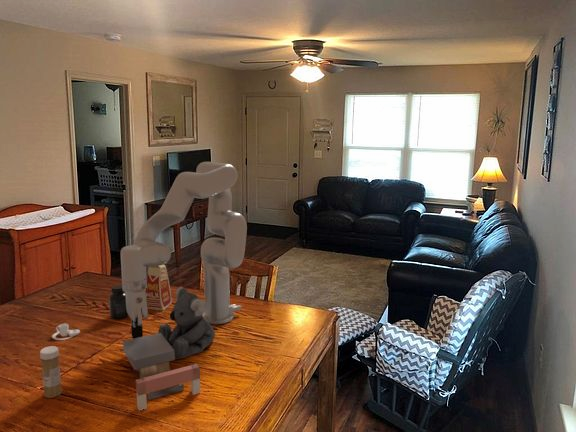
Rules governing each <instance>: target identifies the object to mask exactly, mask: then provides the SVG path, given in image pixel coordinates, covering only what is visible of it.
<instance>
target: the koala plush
mask: <svg viewBox="0 0 576 432" xmlns="http://www.w3.org/2000/svg"><path fill="white" fill-rule="evenodd" d="M176 289H177V290H176V292H175V296H176V301H175V303H174V306H173V308H172V310H171V312H170V314H169V319H170V320H171V321H174V322H175V323H176V325H175V326H174V327H173V330H172V328H171V326H170V324H169V323H164V324H160V325H159V328H158V333H161V334H162V335H163V336H164V338H165V339H166V340H167V342H168V343H169V344H170V345H171V347H172V348H173V349H174V351H175V360H176V359H177V360H182V359H186V358H188V357H190V356H193V355H195V354H199V353H202V352H203V351H204V350H205V349H206V348H208V347H209V346H210V344H212V343H213V341H214V339H215V337H216V333H215V330H214V328H213V327H212V324H209V323H208V322H206V321H205V319H204V318H203V316H202V315H203V313H205V310H206V309H205V300H203V299H201V298H200V297H199V296H198V295H197V294H195V293H194V292H188V290H187V289H186V288H184V287H183V286H179V288H176Z"/></svg>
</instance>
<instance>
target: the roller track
mask: <svg viewBox="0 0 576 432" xmlns="http://www.w3.org/2000/svg"><path fill="white" fill-rule="evenodd" d="M169 362H170V361H168V362H164V363H160V364H156V365H152V366H148V367H144V368H140V369H137V370H135V371H136V372H138V373H139V377H140V378H139V379H141V378H145V377H149V376H152V375H156V374H160V373H164V372H167V371H171V367H170V363H169ZM184 385H185V384H184V383H182V384H180V385H177V386H174V387H170V388H166V389H163V390H159V391H156V392H152V393H147V400H148V401H150V400H154V399H158V398H161V397H164V396H168V395H171V394H175V393H177V392H182V391H184V390H185V386H184Z"/></svg>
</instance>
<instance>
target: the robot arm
mask: <svg viewBox="0 0 576 432" xmlns="http://www.w3.org/2000/svg"><path fill="white" fill-rule="evenodd" d="M238 177H239V176H238V171H237V168H236V167H235V166H233V165H232V164H229V163H223V162H216V161H215V162H214V161H203V162H200V163H199V164H198V165H197V167H196V171H195V172H193V171H183V172H180V173H178V175H177V176H176V177H175V180H174V182H173V183H172V186H171V187H170V189H169V191H168V193H167V196H166V197H165V200H164V202H163V204H162V206H161V207H160V208H159V210H157V212H155V213H154V214H152V216H151V217H150V218H148V219H147V220H146V221H145V222H144V224H143V225H142V226H141V227H140V229H139V230H138V233H137V235H136V237H135V239H134V241H133V244H130V245H127V246H123V247H122V248H121V250H120V265H121V267H120V268H121V283H122V284H121V285H122V289H123V291H125V292H126V310H127V313H128V315H129V316H128V317H129V318H130V324H131V325H130V327H131V329H130V330H131V331H130V332H131V337H132V339H135V338H139V337H144V333H143V318H144V319H145V320H148V319H149V309H147V299H146V293H145V289H146V288H147V268H148V267H150V266H160V265H163V264H164V265H165V264H167V263H168V262H169V261H170V259H171V256H172V252H171V249H170V247H169V246H168V245H167V244H165V243H162V242H159V241H156V240H157V239H158V237H159V236H160V234H161V233H162V232H164V231H165V229H167V228H169V227H171V226H173V225H177V224H179V223H181V222H183V221H184V220H185V218H186V216H187V214H188V213H189V210H190V207H191V205H193V202H194V199H201V200H204V199H208V209H207V220H206V226H207V230H208V231H209V232H210V233H211V234H214V235H217V236H221V237H224V238H219V237H210V238H207V239H205V240H204V241H203V242H202V244H201V246H200V257H201V258H200V259H201V261H202V264H203V265H202V266H203V289H204V297H203V298H204V304H205V309H206V310H205V313H203V315H202V316H203V318H204V319H205V321H206V322H208V323H209V324H210V325H222V324H223V325H224V324H227V323H230V322H231V321H233V320H234V317H235V313H234V312H238V311H241V310H242V305H241V304H239V305H236V304H235V303H234V304H230V303H231V301H230V299H231V297H230V296H231V295H230V291H231V290H230V271H229V269H236V268H238V267H240V266H241V264H242V263H243V262H244V261H243V260H244V259H245V258H244V257H245V252H246V245H247V243H246V242H247V235H248V234H247V231H248V226H247V220H246V218H245V216H243V214H241V213H239V212H237V211H233V209H232V207H233V206H232V205H233V195H232V191H231V188H232V187H234V185H235V184H236V182H237V181H238Z"/></svg>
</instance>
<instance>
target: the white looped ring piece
mask: <svg viewBox="0 0 576 432" xmlns="http://www.w3.org/2000/svg"><path fill="white" fill-rule="evenodd" d="M55 330H56V332H55V333H53V334H52V335H51V338H52V339H53V340H56V341H65V340H70V339H72V338H74V337H75V336H77V335H79V334H80V332H81V331H80V329H69V324H68V323H61V324H59V325H57V326H56V328H55ZM59 334H60V336H61V337H64V338H59V337H57V335H59ZM66 336H68V337H66Z"/></svg>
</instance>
